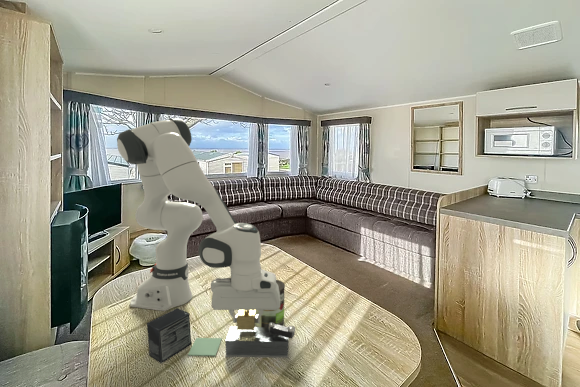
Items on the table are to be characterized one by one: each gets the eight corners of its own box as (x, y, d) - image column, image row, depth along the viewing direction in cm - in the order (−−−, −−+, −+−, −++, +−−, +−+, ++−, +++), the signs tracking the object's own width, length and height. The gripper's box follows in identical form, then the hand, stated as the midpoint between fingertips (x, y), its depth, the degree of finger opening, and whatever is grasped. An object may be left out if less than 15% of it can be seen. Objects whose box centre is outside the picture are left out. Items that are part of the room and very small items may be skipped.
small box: (179, 337, 100) (177, 306, 98) (192, 344, 96) (191, 313, 94) (147, 355, 91) (145, 322, 89) (161, 364, 87) (159, 329, 86)
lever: (293, 341, 89) (293, 330, 89) (267, 334, 93) (267, 323, 92) (296, 337, 91) (296, 326, 91) (270, 330, 95) (270, 320, 94)
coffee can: (290, 321, 109) (290, 283, 107) (273, 336, 100) (273, 295, 98) (266, 312, 114) (266, 276, 112) (248, 326, 106) (247, 287, 104)
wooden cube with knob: (237, 330, 92) (236, 315, 91) (239, 320, 97) (239, 306, 96) (254, 330, 92) (254, 315, 91) (255, 320, 97) (255, 306, 96)
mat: (187, 355, 91) (187, 354, 91) (196, 338, 99) (196, 337, 99) (215, 356, 91) (215, 355, 91) (221, 339, 99) (221, 338, 99)
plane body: (225, 356, 91) (225, 341, 90) (230, 341, 98) (230, 326, 97) (288, 358, 90) (288, 342, 90) (288, 342, 98) (288, 327, 97)
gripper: (207, 283, 89) (209, 327, 91) (280, 283, 89) (279, 328, 91) (213, 273, 95) (214, 315, 97) (280, 274, 95) (280, 315, 98)
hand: (246, 321), depth 94 cm, fingers closed on wooden cube with knob, 5 cm apart
